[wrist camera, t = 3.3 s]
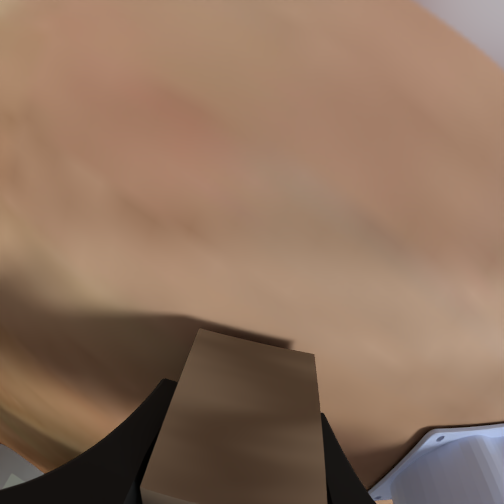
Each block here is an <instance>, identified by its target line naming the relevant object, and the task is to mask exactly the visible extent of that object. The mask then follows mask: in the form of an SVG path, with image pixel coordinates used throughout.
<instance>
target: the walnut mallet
mask: <svg viewBox="0 0 504 504" xmlns="http://www.w3.org/2000/svg"><path fill="white" fill-rule="evenodd" d="M140 491H141V497H142V502H143V504H327V490H326V474H325V460H324V447H323V435H322V423H321V413H320V402H319V393H318V383H317V374H316V365H315V357H314V354H310V353H305V352H300V351H295V350H290V349H285V348H280V347H276V346H271V345H266V344H262V343H258V342H253V341H249V340H245V339H240V338H236V337H232V336H228V335H224V334H220V333H216V332H212V331H209V330H205V329H201V328H199V330H198V332H197V335H196V337H195V340H194V343H193V345H192V348H191V350H190V353H189V356H188V358H187V361H186V363H185V366H184V369H183V371H182V374H181V376H180V379H179V382H178V384H177V387H176V390H175V392H174V395H173V398H172V400H171V403H170V406H169V408H168V411H167V414H166V416H165V419H164V422H163V425H162V427H161V430H160V433H159V435H158V438H157V441H156V444H155V446H154V449H153V452H152V455H151V457H150V460H149V463H148V466H147V469H146V471H145V474H144V477H143V480H142V483H141V485H140Z"/></svg>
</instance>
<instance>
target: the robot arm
mask: <svg viewBox="0 0 504 504" xmlns="http://www.w3.org/2000/svg"><path fill="white" fill-rule="evenodd" d="M177 384H178V382H175V381H172V380H169V379H166V378H165V379H162V380H161V381H160V383H159V384H158V385H157V387H156V388H155V389H154V390H153V392H152V393H151V394H150V395H149V396H148V397H147V398H146V400H145V401H144V402H143V403H142V404H141V405H140V406H139V407H138V408H137V409H136V410H135V411H134V412H133V413H132V414H131V415H130V416H129V417H128V418H127V419H126V420H125V421H124V422H123V423H121V424H120V425H119V426H118V427H117V428H116V429H114V430H113V431H112V432H111V433H110V434H108V435H107V436H106V437H105V438H104V439H102V440H101V441H100V442H98V443H97V444H96V445H94V446H93V447H91V448H90V449H88V450H87V451H85V452H84V453H82V454H81V455H79V456H78V457H76V458H74V459H73V460H71V461H69V462H68V463H66V464H64V465H62V466H60V467H58V468H56V469H54V470H52V471H50V472H48V473H46V474H43V475H41V476H39V477H37V478H34V479H32V480H29V481H27V482H24V483H21V484H18V485H14V486H11V487H8V488H4V489H1V490H0V504H143V502H142V497H141V491H140V485H141V483H142V480H143V477H144V474H145V471H146V469H147V466H148V463H149V460H150V457H151V455H152V452H153V449H154V446H155V444H156V441H157V438H158V435H159V433H160V430H161V427H162V425H163V422H164V419H165V416H166V414H167V411H168V408H169V406H170V403H171V400H172V398H173V395H174V392H175V390H176V387H177ZM321 423H322V435H323V447H324V460H325V474H326V490H327V504H376V503H375V501H376V500H389V499H392V500H393V504H504V423H503V424H495V425H486V426H476V427H463V428H444V429H433V430H431V431H429V432H428V433H427V434H425V436H424V437H423V438H422V439H421V440H420V441H419V442H418V443H417V445H416V446H415V447H414V448H413V449H412V450H411V451H410V452H409V453H408V454H407V455H406V456H405V457H404V458H403V459H402V460H401V461H400V462H399V463H398V464H397V465H396V466H395V467H394V468H393V469H392V470H391V471H390V472H389V473H388V474H387V475H386V476H385V477H384V478H383V479H382V480H381V481H379V482H378V483H377V484H376V485H375V486H374V487H373V488H372V489H371V490H369V491H368V492H367V491H366V489H365V488H364V486H363V485H362V483H361V482H360V480H359V478H358V477H357V475H356V474H355V472H354V470H353V469H352V467H351V465H350V463H349V462H348V460H347V458H346V456H345V454H344V453H343V451H342V449H341V447H340V445H339V443H338V441H337V439H336V437H335V435H334V433H333V431H332V429H331V427H330V425H329V423H328V421H327V419H326V417H325V415H324V413H321Z"/></svg>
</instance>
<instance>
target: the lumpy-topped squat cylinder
mask: <svg viewBox="0 0 504 504" xmlns="http://www.w3.org/2000/svg"><path fill="white" fill-rule="evenodd" d="M11 473H12V474H14V475H15V476H17V477H18V478H20V479H21V480H23V481H25V482H27V481H29V480H32V479H34V478H37V477H39V476H41V475H43V474H44V473H43V472H41V471H40V470H39V469H38V468H36V467H35V466H34V465H32V464H31V463H30V462H28V461H27V460H26V459H24V458H23V457H21V456H20V455H19V454H17V453H16V452H14V451H13V450H12V449H10V448H8V447H7V446H5V445H3V444H0V490H1V489H2V488H3V487H4V485H5V483H6V482H7V480H8V478H9V477H10V475H11Z"/></svg>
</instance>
